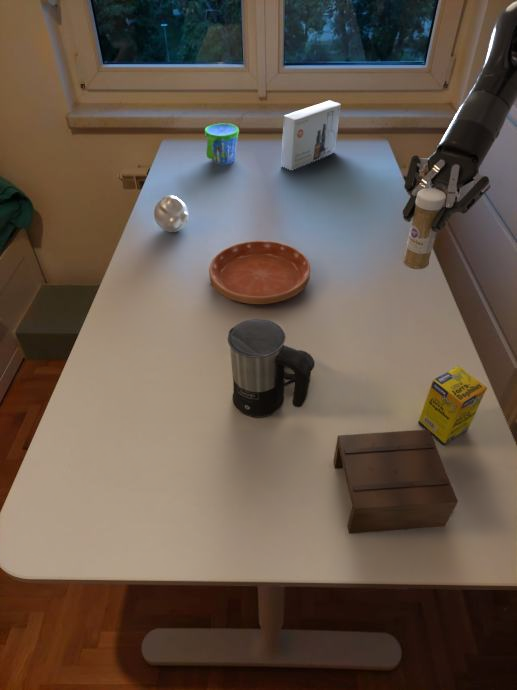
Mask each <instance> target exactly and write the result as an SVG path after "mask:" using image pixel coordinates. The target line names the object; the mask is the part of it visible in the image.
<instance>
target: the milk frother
mask: <svg viewBox="0 0 517 690" xmlns="http://www.w3.org/2000/svg"><path fill="white" fill-rule="evenodd" d="M227 334H228V335H227V344H228V346H229V351H230V359H231V361H230V362H231V373H232V383H233V384H232V385H233V386H232V387H233V388H232V389H233V392H232V402H233V405H234V407H235V408H236V410H237V411H239V412H240V413H241V414H243V415H245V416H247V417H252V418H263V417H268V416H272V415H273V414H275V413H276V412H278V410H279V409H280V408H281V407H282V406H283V404H284V402H285V401H284V400H285V388H286V387H287V386H289V385H292V384H293V383H294V386H293V393H292V406H293V407H295V408H301V407H303V405H304V404H305V402H306V400H307V397H308V393H309V392H308V391H309V386H310V382H311V374H312V371H313V370H314V368H315V360H314V358H313V356H312V354H310V353H309V352H307V351H305V350H301V349H296V348H292V347H290V346H287V345H285V343H286V333H285V331H284V329H283V328H282V327H281V326H280V325H279V324H278V323H276V322H274V321H272V320H268V319H266V318H265V319H264V318H250V319H246V320H242V321H240V322H238V323H236V325H234V326H233V327H231V328H230V329H229V331H228V333H227ZM286 368H288V369H289V370H291V371H292V372H293V373H292V372H291V373H290V372H286V370H285V369H286ZM286 380H287V381H286Z"/></svg>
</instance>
